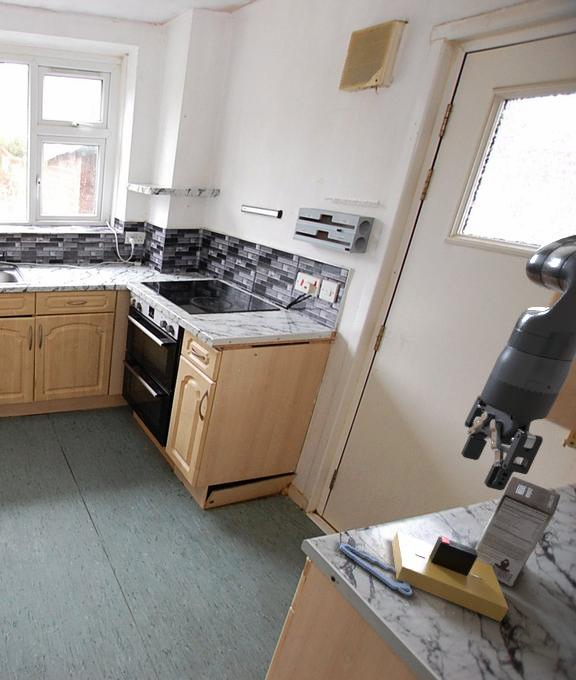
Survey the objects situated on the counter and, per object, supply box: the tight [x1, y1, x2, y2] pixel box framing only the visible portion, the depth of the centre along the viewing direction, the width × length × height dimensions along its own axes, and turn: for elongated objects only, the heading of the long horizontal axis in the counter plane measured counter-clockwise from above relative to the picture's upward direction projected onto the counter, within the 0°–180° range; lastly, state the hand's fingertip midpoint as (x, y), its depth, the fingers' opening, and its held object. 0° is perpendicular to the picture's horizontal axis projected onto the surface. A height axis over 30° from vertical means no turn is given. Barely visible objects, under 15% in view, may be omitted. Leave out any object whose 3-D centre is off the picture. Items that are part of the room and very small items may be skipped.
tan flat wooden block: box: [391, 530, 509, 623], centre depth 79 cm, size 14×10×3 cm
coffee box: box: [474, 476, 561, 587], centre depth 81 cm, size 9×6×16 cm
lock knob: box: [430, 535, 478, 576], centre depth 78 cm, size 5×2×5 cm, turn 59°
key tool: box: [339, 542, 413, 596], centre depth 81 cm, size 12×1×5 cm
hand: (480, 471), depth 72 cm, fingers open, 8 cm apart
